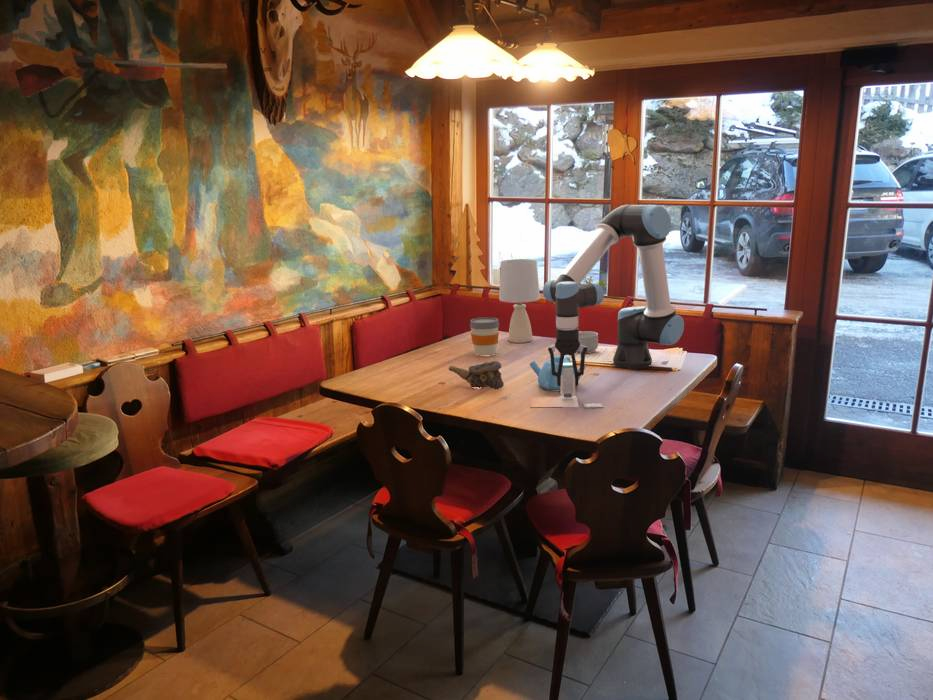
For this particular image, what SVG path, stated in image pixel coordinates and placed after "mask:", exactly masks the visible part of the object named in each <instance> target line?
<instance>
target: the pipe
mask: <svg viewBox="0 0 933 700" xmlns="http://www.w3.org/2000/svg"><path fill="white" fill-rule="evenodd" d="M501 368H502V363H501V362H500V361H498V360H492V361H487V362H484V363H480V364H475V365H471V366H468V369H464V368H461V367H456V366H453V365H450V366H449V367H448V371H450V372H453V373H454V374H457V375H458V376H459V377H460V378H461V379H462V380H464V381H466V382H467V383H468V384H469V385H470V386H471V387H479V388H480V387H482V388H487V387H489V388H490V389H492V388H494V389H493V390H500V389H501V388H503V387H504V381H503V378H502V373H501V372H500V369H501ZM471 387H470V388H471ZM499 388H500V389H499Z"/></svg>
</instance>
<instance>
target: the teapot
mask: <svg viewBox="0 0 933 700" xmlns="http://www.w3.org/2000/svg"><path fill="white" fill-rule="evenodd" d="M559 359H560V355H556V356H555V355H554V362H555V371H556V372H557V371H558V365H559ZM563 363H571V357H570V356H564V360H563ZM529 366H530V368H531V369H532V370H533V372H534V373H535V374H536V376H537V382H538V383H537V384H538V385H539V386H540V387H541V388H542V389H543V388H544V390H546V389H548V390H547V391H552V390H559V391H558V392H561V391H560V390H561V389H560V386H558V385H557V377H556V376H553V375H552V370H551V358H550V359H548V360H546V361H545V362H544V363H543V365H542V366H541V368H540V366H539V365H538V364H537V363H536V361H535V360H533V361H532V362H530V363H529ZM586 367H587V365H585V364H584V370H585V369H586ZM577 370H578V371H580V367H578V369H577ZM573 375H575V374H574V369H573ZM561 376H562V372H561ZM581 377H582V375H580V376H579V377H578V382H579V381H580V379H581Z"/></svg>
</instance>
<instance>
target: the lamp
mask: <svg viewBox="0 0 933 700" xmlns="http://www.w3.org/2000/svg"><path fill="white" fill-rule="evenodd" d="M499 268H500V271H499V274H500V275H499V291H498V292H499V295H498V297H499V298H498V299H499V301H500V302H505V303H515V304H513V306H512V307H513V308H514V310H513V312H512V315H511V317H510V321H509V322H510V323H509V330H508V338H507V339H508V341H509V342H510V343H513V344H525V343H530V342H532V341H533V332H532V327H531V321H530V318H529V315H528V313H527V312H528V311H527V310H526V307H527V305H526V304H523V303H529V302H530V303H531V302H536V301H538V300H540V298H541V297H540V296H541V295H540V285H539V284H540V283H539V274H538V260H536V259H529V258H525V259H524V258H523V259H522V258H520V259H519V258H518V259H516V258H515V259H506V260H501V261H500V267H499Z"/></svg>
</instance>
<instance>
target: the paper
mask: <svg viewBox="0 0 933 700" xmlns="http://www.w3.org/2000/svg"><path fill="white" fill-rule="evenodd" d="M558 397H559V398H558V399H560V400H561V401H563V402H559V403H561V404H565V405H564V406H565V407H564V408H579V402H578V398H577V396H576V395H575V396H573V395H572V397H571V398H564V395H563V396H561V395H559V396H558Z"/></svg>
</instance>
